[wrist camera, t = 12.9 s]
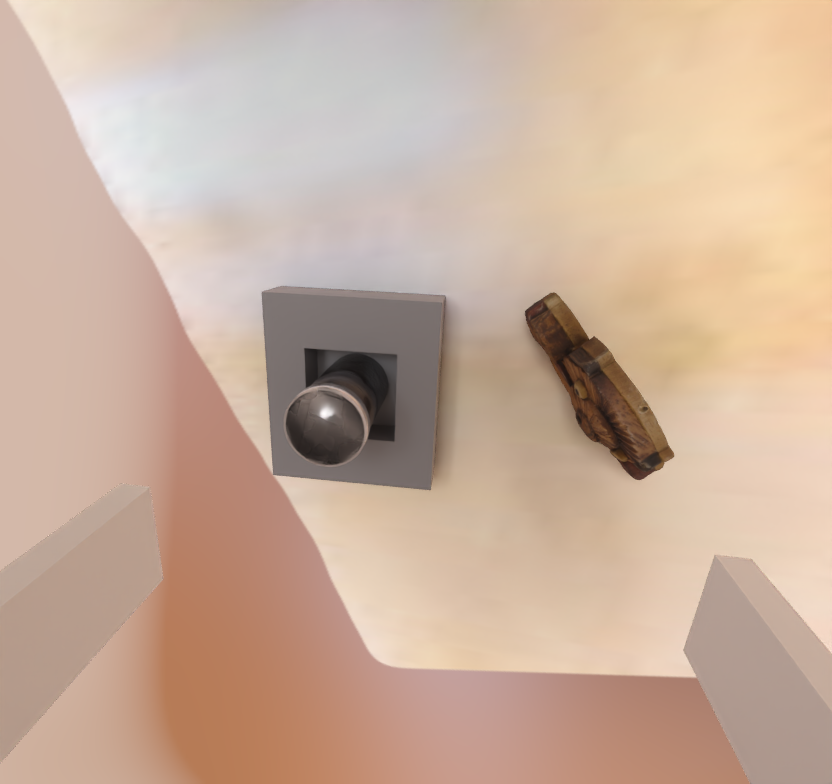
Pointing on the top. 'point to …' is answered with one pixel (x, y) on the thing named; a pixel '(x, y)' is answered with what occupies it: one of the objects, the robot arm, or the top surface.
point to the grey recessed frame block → (369, 335)
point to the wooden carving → (599, 389)
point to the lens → (336, 411)
